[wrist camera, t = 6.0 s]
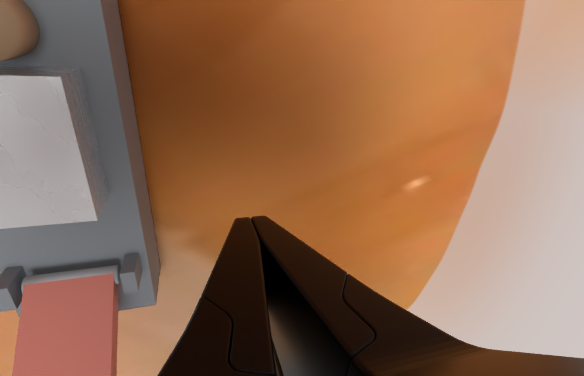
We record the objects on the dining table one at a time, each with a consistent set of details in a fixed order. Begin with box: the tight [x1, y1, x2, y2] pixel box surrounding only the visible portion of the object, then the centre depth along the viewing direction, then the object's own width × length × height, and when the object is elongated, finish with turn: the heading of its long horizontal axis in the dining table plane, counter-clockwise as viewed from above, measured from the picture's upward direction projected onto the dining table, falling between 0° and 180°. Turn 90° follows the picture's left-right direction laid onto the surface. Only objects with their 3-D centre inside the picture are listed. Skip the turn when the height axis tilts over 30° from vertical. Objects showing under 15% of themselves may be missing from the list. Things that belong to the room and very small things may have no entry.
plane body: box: [0, 0, 160, 318], centre depth 16 cm, size 17×7×6 cm, turn 176°
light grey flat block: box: [0, 65, 109, 229], centre depth 13 cm, size 6×5×2 cm
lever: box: [12, 265, 121, 376], centre depth 16 cm, size 1×4×6 cm
